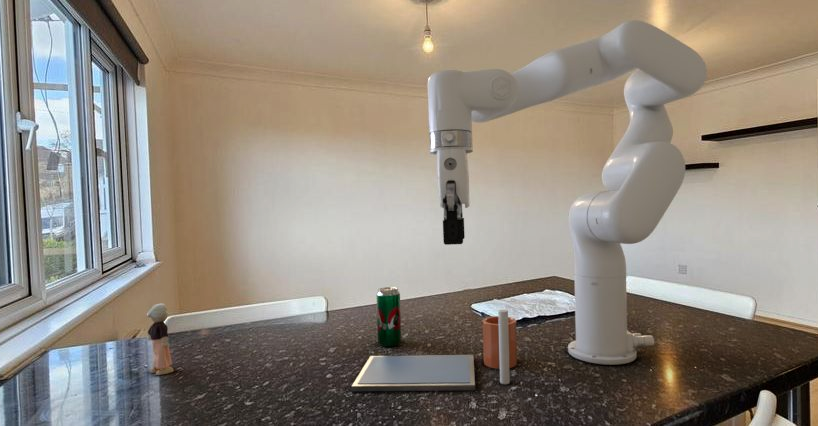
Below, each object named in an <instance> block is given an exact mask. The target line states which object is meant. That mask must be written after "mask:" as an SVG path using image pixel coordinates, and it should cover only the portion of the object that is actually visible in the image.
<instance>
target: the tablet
mask: <svg viewBox="0 0 818 426" xmlns="http://www.w3.org/2000/svg"><path fill="white" fill-rule="evenodd" d="M474 359H475V358H474V354H434V355H432V354H428V355H427V354H426V355H425V354H424V355H423V354H421V355H370V356H369V358H368V359H367V361H366V362H365V364H364V365H363V367H362V369H361V370H360V372H359V374H358V375H357V376H356V378H355V380H354V381H353V383H352V385H351V392H354V393H355V392H439V391H440V392H445V391H447V392H450V391H460V392H461V391H476V378H475V377H476V376H475V361H474Z"/></svg>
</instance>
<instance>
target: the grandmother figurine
mask: <svg viewBox="0 0 818 426" xmlns="http://www.w3.org/2000/svg"><path fill="white" fill-rule="evenodd" d="M167 310H168V307H167V304H165V303H157V304H156V303H155V304H154V305H153V306H151V308H149V310H148V312H147V313H146V315H145V317H146V318H150V319H151V321H152V324H151V325H150V326H149V328H148V330H147V340H148V341H151V343H152V352H153V357H152V367H153V368H151V370H150V371H149V372H150V373H152V374H154V373H155V376H161V375H168V374H170V373H173V372H174V370H175V369H174V368H173V367H172V365H173V360H172V356H171V351H170V346H169V345H170V344H169V328H168V327H169V326H168V325H167V324H166V323H165V321H166V320H167V319H168V316H169V315H168V312H167Z"/></svg>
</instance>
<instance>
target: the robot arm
mask: <svg viewBox="0 0 818 426" xmlns="http://www.w3.org/2000/svg"><path fill="white" fill-rule="evenodd" d="M630 73H632V74H630ZM627 74H630V75H629V76H628V78H627V79H626V81H625V83H624V87H623V97H624V101H625V105H626V107H627V110H628V114H629V124H628V126H627V128H626V131H625V132H624V134H623V136H622V137H621V139H620V140H619V142H618V143H617V145H616V146H615V148H614V149H613V151H612V153H611V154H610V156H609V157H608V159H607V160H606V162H605V163H604V166H603V168H602V170H601V182H602V185H603V187H605V189H606V190H604V191H603V190H599V191H591V192H587V193H584V194H582V195H580V196H579V197H577V198H576V199H575V200H574V201H573V202H572V204H571V206H570V208H569V212H568V229H569V234H570V237H571V241H572V247H573V248H572V250H573V266H574V268H573V269H574V270H573V272H574V275H573V277H574V316H575V318H574V319H575V321H574V322H575V340H572V341H571V342H569V343H568V345H567V352H568V354H569V355H570V356H571V357H573V358H575V359H576V360H578V361H582V362H585V363H590V364H595V365H596V364H597V365H605V366H607V365H609V366H612V365H614V366H618V365H624V364H625V365H626V364H629V363H632V362H634V361H635V360H636V359H637V357H638V355H637V354H638V353H637V352H638V351H637V349H636V348H638V346H643V347H653V346H654V345H655V338H654V336H653V335H649V334H648V335H642V334H641V333H640V332H634V333H632V332H631V331H629V329H628V305H627V304H628V301H627V300H628V299H627V298H628V297H627V262H626V257H625V252H624V250H623V247H622V245H623V244H624V245H632V244H637V243H641V242H642V241H644V240H646V239H647V238H649V236H650V235H651V234H653V232H654V231H655V230H656V228H657V226H658V225H659V223H660V222H661V220H662V218H663V217H664V215H665V213H666V212H667V211H668V209H669V207H670V205H671V204H672V202H673V201H674V198H676V195H677V194H678V192H679V190H680V188H681V187H682V184H683V182H684V179H685V175H686V161H685V157H684V155H683V153H682V151H681V149H679V148H678V146H676V145H674V144H673V143H671V142H672V139H673V136H674V127H673V123H672V121H671V119H670V116H669V114H668V111H667V109H666V107H665V105H666V104H669V103H672V102H676V101H679V100H682V99H686V98H688V97H691V96H693V95H695V94H696V93H698V91H700V90H701V89H702V88H703V86H704V85H705V84H706V83H705V82H706V81H707V77H708V69H707V65H706V62H705V60H704V58H703V57H702V55H700V54H699V52H697V51H696V50H695V49H693V48H692V47H690V46H689V45H687V44H686V43H683V42H682V41H680V40H679V39H677V38H675V37H674V36H672V35H671V34H669V33H668V32H666V31H664V30H662V29H661V28H658V27H657V26H655V25H653V24H651V23H648V22H645V21H642V20H637V19H632V20H627V21H625V22H622V23H621V24H619V25H618V26H616V27H614V28H613V29H611V30H610V31H608V32H607V33H605V34H603V35H601V36H599V37H596V38H593V39H589V40H586V41H583V42H579V43H576V44H573V45H570V46H566V47H562V48H558V49H556V50H551V51H549V52H548V53H545V54H544V55H542V56H539V57H537V58H536V59H534V60H533V61H532V62H529V63H528V64H527V65H525V66H523V67H521V68H519V69H518V70H514V71H513V72H511V73H510V72H509V71H507V70H504V69H500V68H488V69H482V70H481V69H480V70H473V71H472V70H471V71H461V70H456V69H444V70H439V71H435V72H433V73H432V74H431V75H430V76H429V77H428V80H427V106H428V132H429V133H428V135H429V137H428V138H429V154H431V155H435V156H436V169H437V186H438V188H437V189H438V197H439V205H440V208H442V209H443V220H442V232H443V233H442V234H443V235H442V238H443V240H442V241H443V245H445V246H446V245H447V246H449V245H462V244H463V243H464V240H465V238H466V237H465V217H464V216H463V213H464V212H463V205H464V208H465V209H467V208H469V207H470V179H469V177H470V176H469V174H470V173H469V160H468V154H471V153H473V152H474V150H473V149H474V147H473V146H474V145H473V123H478V124H479V123H480V124H482V123H483V124H484V123H487V122H490V121H494V120H496V119H500V118H502V117H506V116H508V115H512V114H515V113H518V112H521V111H523V110H526V109H528V108H529V109H530V108H531V107H532V108H533V107H535V106H539V105H542V104H545V103H546V104H547V103H549V102H552V101H555V100H557V99H560V98H563V97H566V96H569V95H572V94H574V93H575V94H576V93H577V92H580V91H583V90H587V89H589V88H594V87H597V86H599V85H602V84H605V83H608V82H611V81H614V80H616V79H618V78H620V77H623V76H625V75H627Z"/></svg>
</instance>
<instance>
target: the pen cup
mask: <svg viewBox="0 0 818 426" xmlns="http://www.w3.org/2000/svg"><path fill="white" fill-rule="evenodd" d="M508 333H509V369H511V368H515V367H516V366H517V365H518V340H517V339H518V337H517V319H516V318H514V317H511V316H508ZM482 350H483V353H482V355H483V364H484V366H486V367H488V368H490V369H496V370H500V361H499V320H498V315H494V316H493V315H492V316H488V317H485V318H483V319H482Z"/></svg>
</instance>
